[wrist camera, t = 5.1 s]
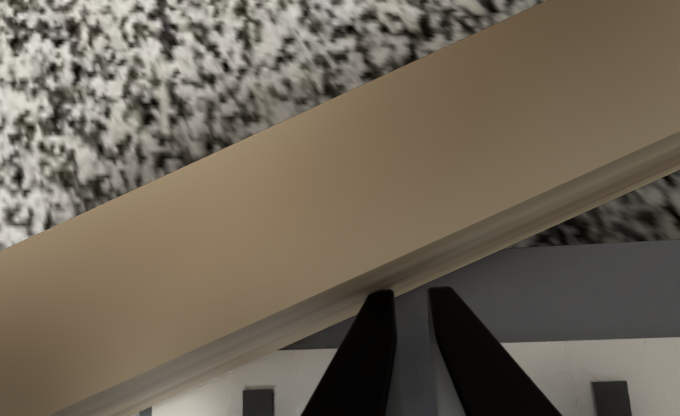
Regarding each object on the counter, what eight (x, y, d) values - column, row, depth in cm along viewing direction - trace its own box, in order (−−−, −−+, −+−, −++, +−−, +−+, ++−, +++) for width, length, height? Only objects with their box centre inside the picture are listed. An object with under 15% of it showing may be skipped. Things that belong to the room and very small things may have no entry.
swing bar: (655, 204, 15) (1138, -22, 5) (-25, 508, 16) (-780, 836, 6) (602, 119, 16) (936, -223, 6) (-46, 411, 16) (-745, 552, 6)
